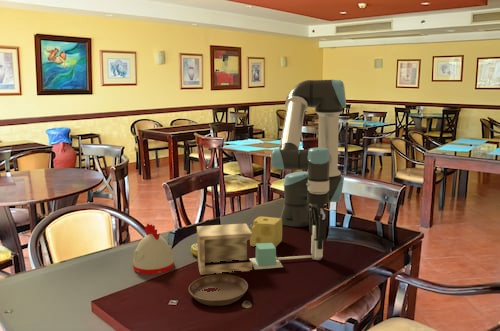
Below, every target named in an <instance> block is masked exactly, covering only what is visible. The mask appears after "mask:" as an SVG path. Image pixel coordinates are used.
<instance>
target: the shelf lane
mask: <svg viewBox="0 0 500 331" xmlns="http://www.w3.org/2000/svg"><path fill="white" fill-rule="evenodd" d="M251 237H252V232H251V228H249V226H248V224H247V223H231V224H230V223H229V224H215V225H212V224H211V225H199V226H196V241H197V242H196V243H197V253H198V257H197V265H198V270H199V274H200V275H201V276H202V275H203V276H204V275H215V274H214V273H216V274H223V273H222V272H229V273H235V272H234V271H241V272H251V271H250V270H252V271H253V265H252V262H251V261H247V260H248V240H247V239H248V238H251ZM232 260H239V261H242V262H233V261H232ZM220 261H226V262H233V263H221V262H220ZM243 261H245V262H243ZM211 262H213V263H217V264H210V263H211ZM218 263H219V264H218ZM220 263H221V264H220ZM232 271H233V272H232Z"/></svg>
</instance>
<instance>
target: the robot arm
mask: <svg viewBox="0 0 500 331" xmlns="http://www.w3.org/2000/svg"><path fill="white" fill-rule="evenodd" d="M345 90H346V89H345V84H344V82H343V81H342V80H341V79H340V80H339V79H315V80H314V79H312V80H311V79H308V80H303V81H301V82H299V83H298V84H296V85H295V86H294V87H293V88H292V89H291V90H290V91H289V92H288V94H287V96H286V99H285V104H284V105H285V109H286V112H285V116H284V120H283V125H282V126H283V127H282V132H281V138H280V142H279V147H278V148H274V149H273V150H272V151H271V161H270V162H271V167H272V168H273V169H277V170H278V169H279V170H301V171H294V172H290V173H287V174H286V175H285V176H284V181H283V183H284V184H283V190H284V191H283V199H284V200H283V208H282V210H281V214H280V217H279V218H282V225H284V226H288V227H295V228H296V227H297V228H298V227H300V228H301V227H308V230H309V233H310V235H311V240H310V242H311V243H310V246H311V248H310V253H311V254H312V232H313V225H316V239H314V240H315V258H318V257H322V258H323V256H324V254H323V253H324V241H326V240H327V238H326V235H327V220H328V219H327V218H328V213H326V211H325V205H327V204H329V203H338V202H340V201H341V200H342V199H341V198H342V193H343V187H344V182H345V177H344V176H342V172H341V171H340V170H339V169H338V167H339V161H338V160H339V124H340V122H339V121H340V119H339V118H340V115H341V114H342V113H343V109H344V108H346V107H347V100H346V91H345ZM308 108H315V109H314V112H315V113H316V114H317V116H318V141H317V142H318V147H311V148H309V149H300V146H301V136H302V131H303V124H304V119H305V118H304V117H305V112H306V111H307V110H308ZM310 204H311V205H310Z"/></svg>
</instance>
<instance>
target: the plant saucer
mask: <svg viewBox="0 0 500 331" xmlns="http://www.w3.org/2000/svg"><path fill="white" fill-rule="evenodd" d="M208 288H215V289H216V288H218V289H217V290H216V291H213V292H212V291H210V292H207V291H204V289H208ZM248 288H249V284H248V282H247V281H246V280H245V279H244V278H241V277H240V276H236V275H232V274H223V273H220V274H209V275H206V276H202V277H200V278H198V279H196V280H194V281H192V282H191V283H190V284H189V286H188V292H189V294H190V295H191V296H192V298H194V300H195V301H197V302H199V303H200V304H202V305H207V306H214V307H215V306H216V307H218V306H228V305H231V304H234V303H235V302H237V301H238V300H239V301H240V299H241V298H242V297H243V296H244V295H245V294H246V292H247V291H248ZM219 289H220V290H219ZM199 290H200V291H199ZM202 290H203V291H202ZM218 290H219V291H218Z"/></svg>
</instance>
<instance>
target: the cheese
mask: <svg viewBox="0 0 500 331" xmlns="http://www.w3.org/2000/svg"><path fill="white" fill-rule="evenodd" d="M250 231H251V232H252V237H249V238H250V239H249V245H250V247H255V246H256V244H260V243H272V244H273V245H274V246H275V248H277V246H279V244H280V243H282V242H283V241H282V240H283V224H282V218H280V217H274V216H273V217H270V216H262V215H259V216H258V217H256V218H255V219H254V220H253V225H252V226H251V228H250Z"/></svg>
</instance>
